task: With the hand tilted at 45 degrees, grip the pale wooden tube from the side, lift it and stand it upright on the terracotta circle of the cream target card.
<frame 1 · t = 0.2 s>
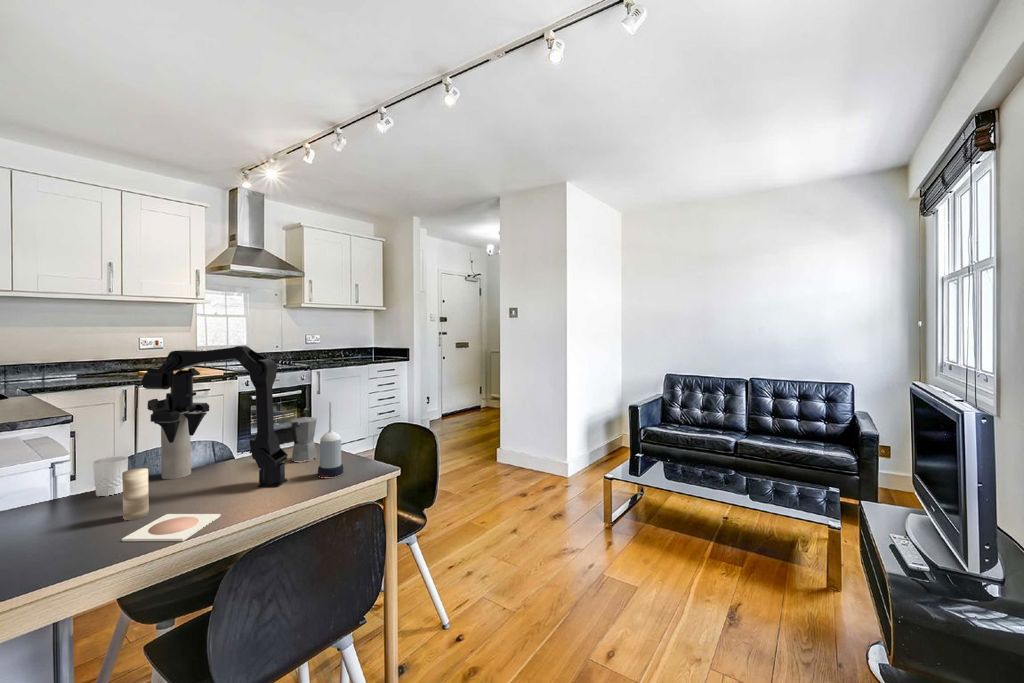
hand: (181, 438, 142), 15 cm above the table, tool pointing down, fingers open, 9 cm apart
wooden tube: (136, 516, 118), on the table
white cup: (111, 493, 135), on the table
target card: (174, 527, 112), on the table
coffeepot: (302, 460, 170), on the table
thermos bottle: (176, 475, 151), on the table
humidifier: (330, 475, 153), on the table
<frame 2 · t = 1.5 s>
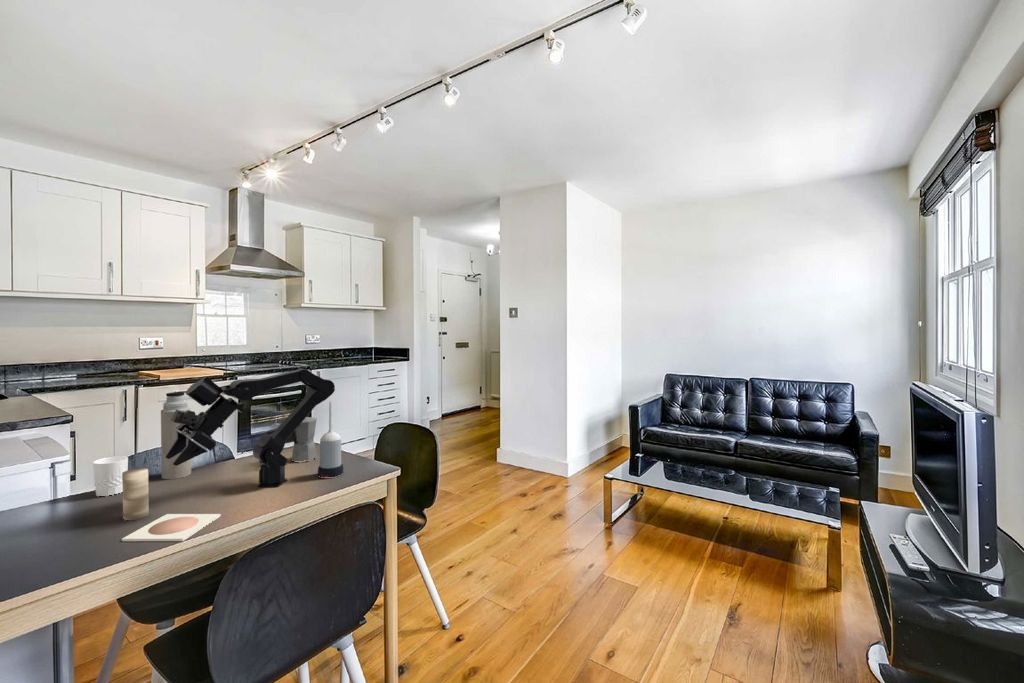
hand: (170, 461, 124), 13 cm above the table, tool tilted 45°, fingers open, 9 cm apart
nothing on the table moved.
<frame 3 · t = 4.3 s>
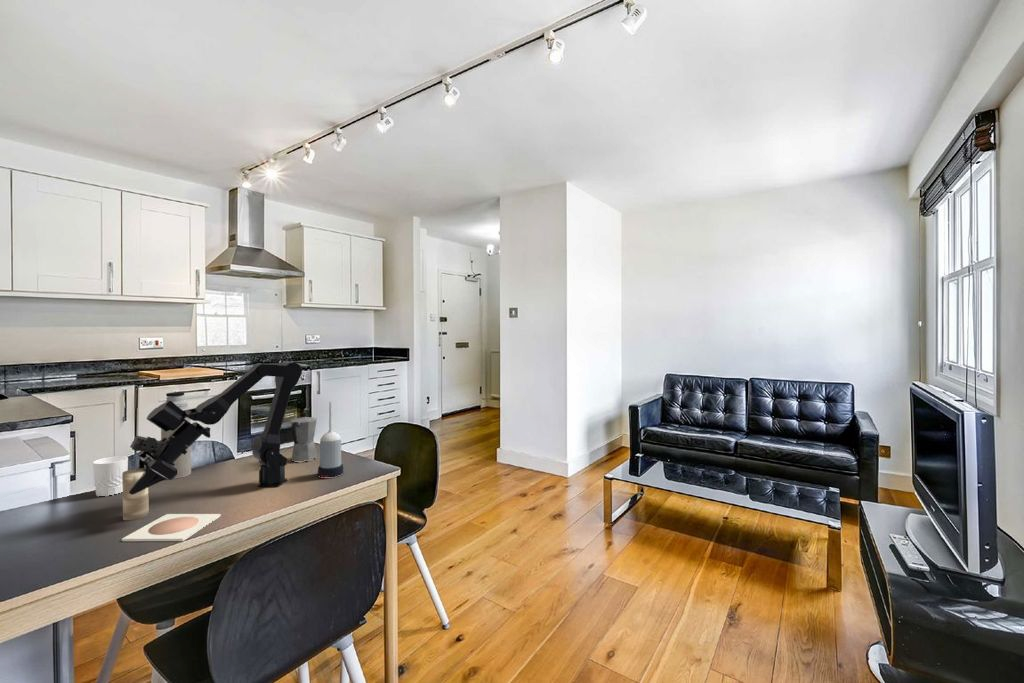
hand: (128, 491, 117), 7 cm above the table, tool tilted 45°, fingers closed on wooden tube, 5 cm apart
wooden tube: (135, 516, 118), on the table, touching gripper
everything else where it was.
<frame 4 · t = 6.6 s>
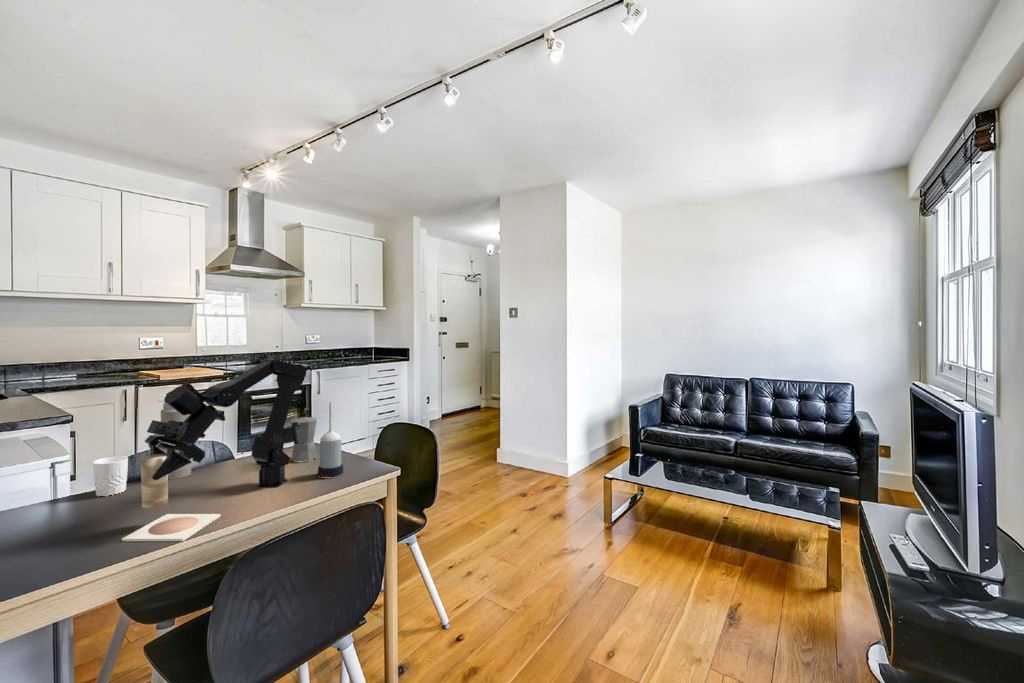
hand: (148, 477, 112), 12 cm above the table, tool tilted 45°, fingers closed on wooden tube, 5 cm apart
wooden tube: (155, 503, 113), point 5 cm above the table, touching gripper
everything else where it was.
when the fingers open (9 cm above the table, at t = 8.9 s): wooden tube stays where it is, resting on target card.
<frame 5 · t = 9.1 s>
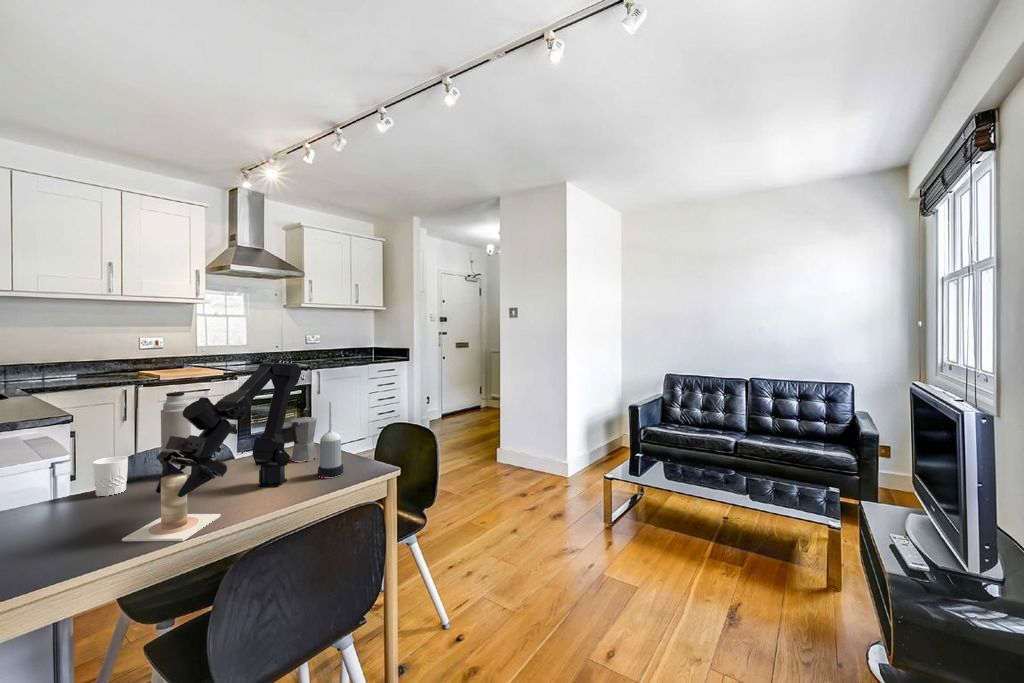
hand: (168, 494, 110), 9 cm above the table, tool tilted 45°, fingers open, 7 cm apart
wooden tube: (174, 524, 112), point 1 cm above the table, touching target card
everything else where it was.
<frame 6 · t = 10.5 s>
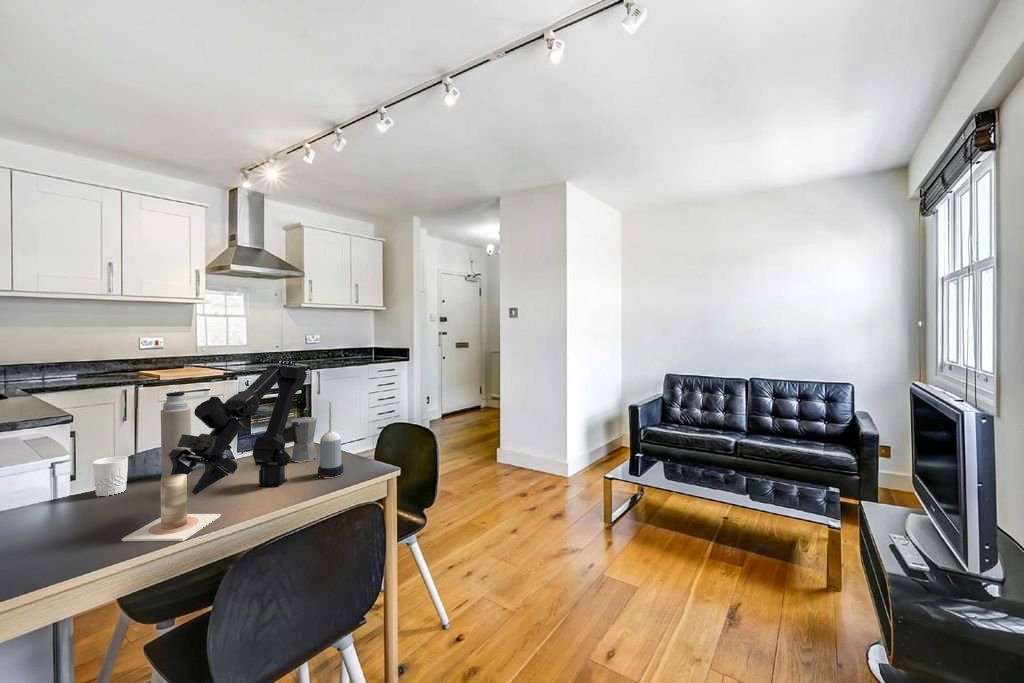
hand: (180, 491, 113), 9 cm above the table, tool tilted 45°, fingers open, 9 cm apart
nothing on the table moved.
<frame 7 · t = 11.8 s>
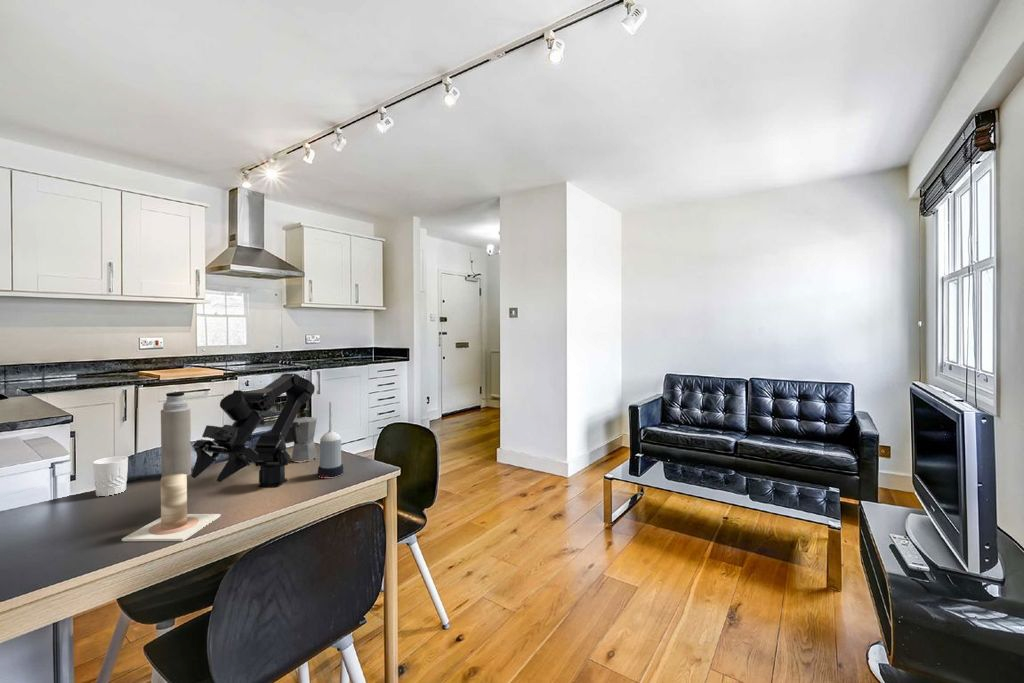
hand: (205, 479, 119), 10 cm above the table, tool tilted 45°, fingers open, 9 cm apart
nothing on the table moved.
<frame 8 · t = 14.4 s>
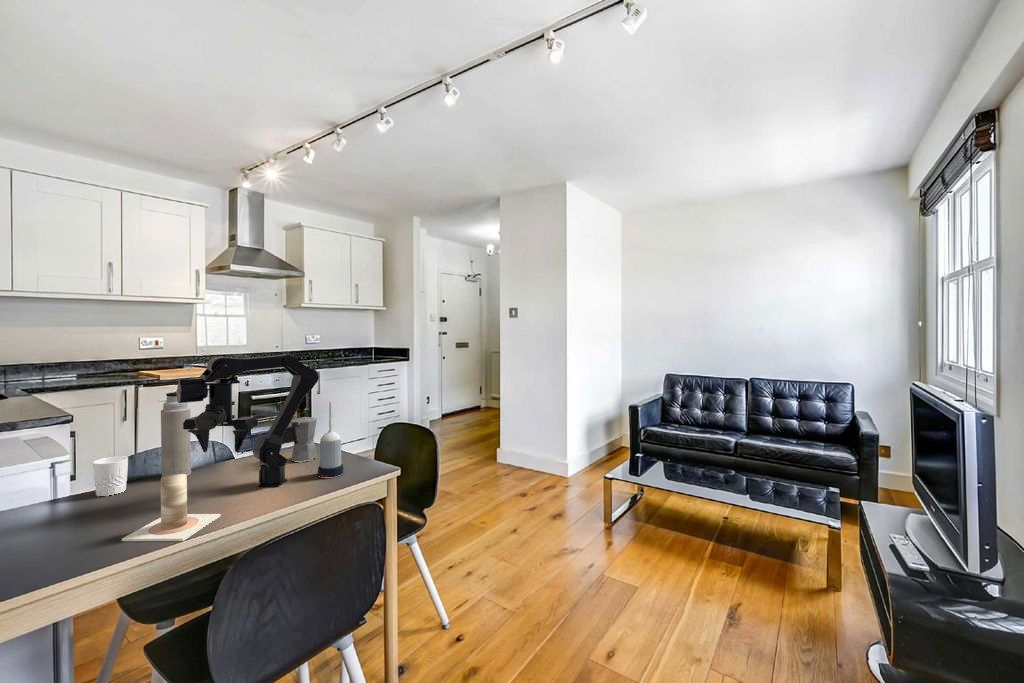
hand: (221, 451, 133), 13 cm above the table, tool pointing down, fingers open, 9 cm apart
nothing on the table moved.
at the end: wooden tube inside the target area on the target card (0.1 cm from its centre), point 0.7 cm above the target card's base; wooden tube tilted 0°; the gripper is holding nothing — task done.
